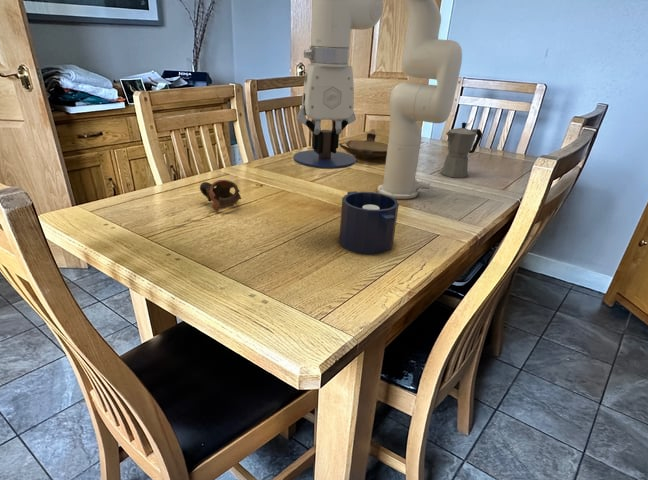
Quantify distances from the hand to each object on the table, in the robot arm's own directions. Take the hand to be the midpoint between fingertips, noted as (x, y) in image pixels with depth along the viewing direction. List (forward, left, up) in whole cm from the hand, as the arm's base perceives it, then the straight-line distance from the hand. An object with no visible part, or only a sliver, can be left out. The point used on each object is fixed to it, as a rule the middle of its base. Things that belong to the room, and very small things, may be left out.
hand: (324, 151), depth 96 cm
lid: (0, 0, -2) cm, 2 cm away
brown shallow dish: (-26, -81, -21) cm, 87 cm away
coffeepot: (-54, -58, -21) cm, 81 cm away
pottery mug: (+26, -20, -21) cm, 39 cm away
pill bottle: (-11, +3, -20) cm, 23 cm away
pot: (-11, +3, -20) cm, 23 cm away
